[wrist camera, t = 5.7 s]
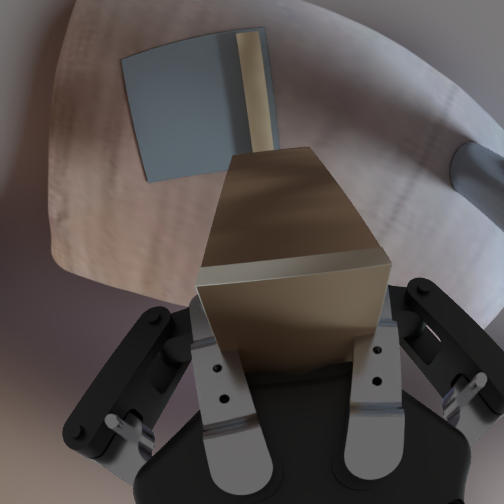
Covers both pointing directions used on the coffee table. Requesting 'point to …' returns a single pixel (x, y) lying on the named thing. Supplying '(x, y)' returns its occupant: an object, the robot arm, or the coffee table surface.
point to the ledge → (255, 90)
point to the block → (289, 265)
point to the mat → (193, 105)
